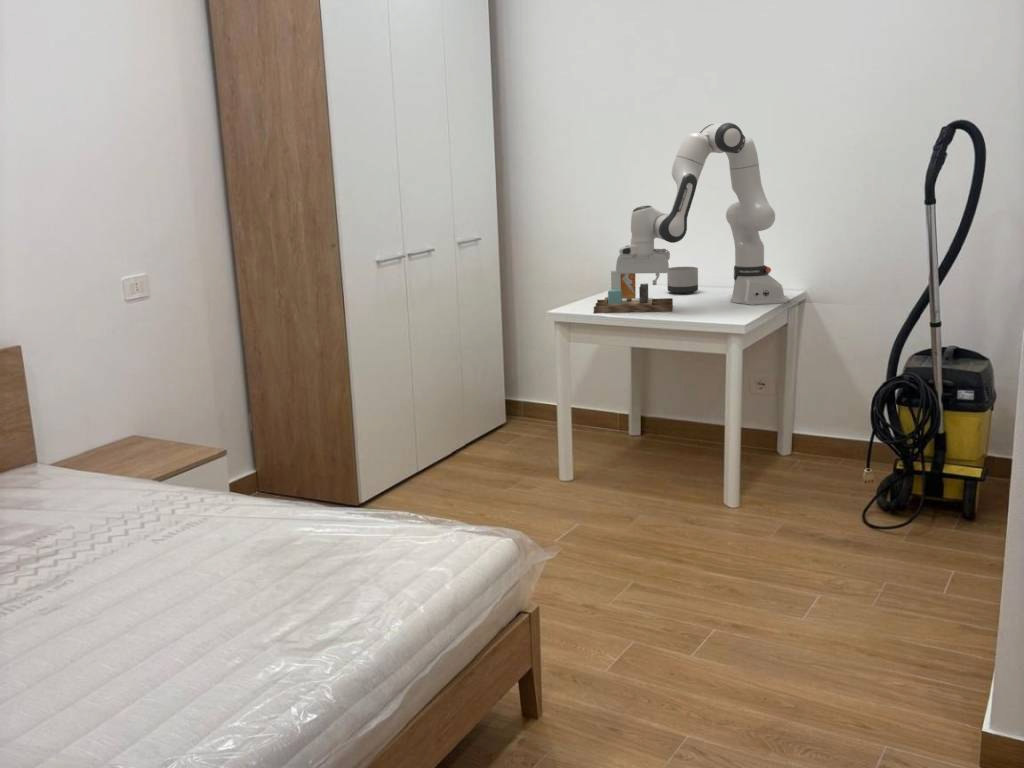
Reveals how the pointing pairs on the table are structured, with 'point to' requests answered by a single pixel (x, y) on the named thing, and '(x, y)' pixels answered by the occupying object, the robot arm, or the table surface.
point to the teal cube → (615, 296)
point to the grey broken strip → (637, 298)
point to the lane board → (636, 307)
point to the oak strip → (643, 301)
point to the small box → (623, 284)
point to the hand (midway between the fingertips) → (642, 284)
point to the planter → (682, 280)
